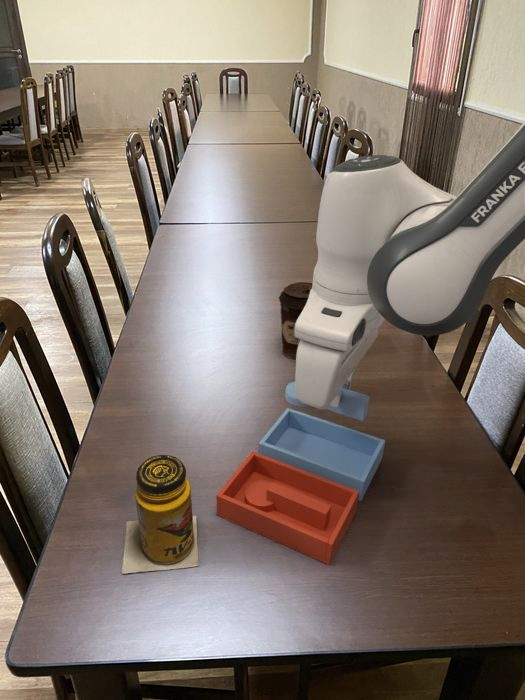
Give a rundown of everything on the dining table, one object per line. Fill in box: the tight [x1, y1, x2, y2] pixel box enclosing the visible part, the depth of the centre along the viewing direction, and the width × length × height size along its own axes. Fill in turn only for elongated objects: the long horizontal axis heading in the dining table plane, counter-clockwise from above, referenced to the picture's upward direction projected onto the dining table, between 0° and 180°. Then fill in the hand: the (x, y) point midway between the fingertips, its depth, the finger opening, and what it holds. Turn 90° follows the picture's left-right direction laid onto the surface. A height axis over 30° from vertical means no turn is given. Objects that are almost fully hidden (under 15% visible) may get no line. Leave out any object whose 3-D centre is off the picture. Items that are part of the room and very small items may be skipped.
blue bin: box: [258, 407, 386, 502], centre depth 75 cm, size 15×9×4 cm, turn 62°
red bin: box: [215, 450, 359, 566], centre depth 67 cm, size 15×9×4 cm, turn 62°
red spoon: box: [245, 481, 331, 531], centre depth 67 cm, size 11×4×3 cm, turn 62°
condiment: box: [121, 454, 199, 575], centre depth 60 cm, size 7×8×12 cm
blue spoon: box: [284, 380, 371, 422], centre depth 71 cm, size 11×4×3 cm, turn 62°
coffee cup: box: [278, 281, 313, 360], centre depth 98 cm, size 9×8×13 cm
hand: (337, 397), depth 70 cm, fingers closed on blue spoon
